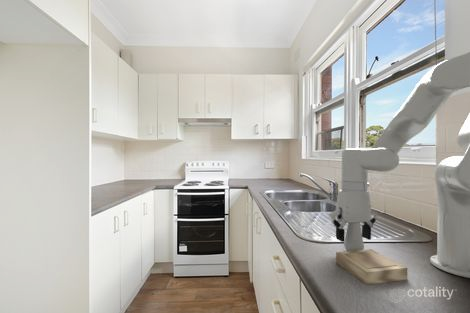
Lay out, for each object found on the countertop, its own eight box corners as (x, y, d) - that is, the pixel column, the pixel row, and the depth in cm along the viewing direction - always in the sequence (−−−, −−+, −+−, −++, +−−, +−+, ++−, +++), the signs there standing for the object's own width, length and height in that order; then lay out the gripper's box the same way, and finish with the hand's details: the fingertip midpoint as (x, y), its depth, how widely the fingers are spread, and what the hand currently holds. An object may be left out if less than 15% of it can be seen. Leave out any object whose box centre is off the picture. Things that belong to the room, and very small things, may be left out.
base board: (370, 259, 71) (371, 248, 71) (407, 279, 60) (407, 267, 60) (336, 262, 69) (336, 251, 69) (366, 284, 57) (367, 271, 57)
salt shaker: (366, 257, 72) (366, 215, 72) (346, 255, 74) (346, 214, 74) (360, 250, 78) (360, 211, 78) (342, 248, 79) (342, 210, 79)
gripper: (368, 184, 81) (367, 233, 81) (323, 185, 78) (322, 236, 78) (386, 187, 74) (385, 241, 74) (337, 188, 70) (337, 245, 70)
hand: (353, 239), depth 76 cm, fingers open, 9 cm apart
